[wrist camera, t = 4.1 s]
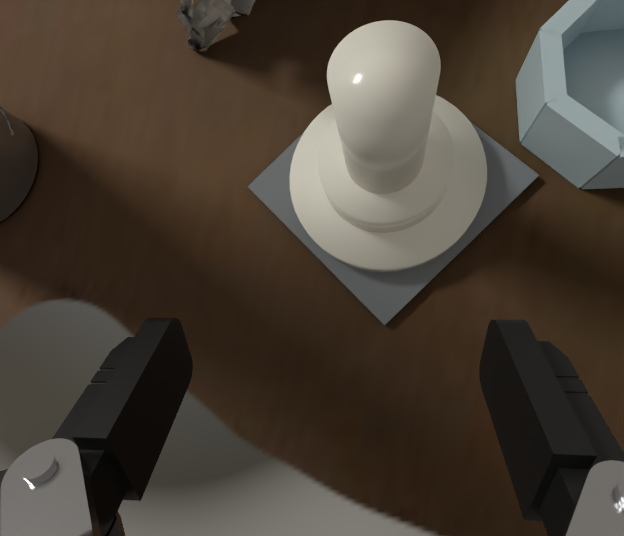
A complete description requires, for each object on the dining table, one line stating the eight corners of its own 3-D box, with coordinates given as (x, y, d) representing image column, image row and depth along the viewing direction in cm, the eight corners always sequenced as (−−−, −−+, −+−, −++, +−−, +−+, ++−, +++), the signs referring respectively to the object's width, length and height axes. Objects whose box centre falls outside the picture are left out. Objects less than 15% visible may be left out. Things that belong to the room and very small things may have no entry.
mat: (384, 325, 23) (384, 325, 23) (249, 188, 27) (247, 186, 26) (536, 178, 23) (538, 175, 23) (384, 58, 27) (384, 54, 26)
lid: (384, 312, 23) (382, 286, 13) (258, 186, 26) (179, 86, 16) (525, 176, 23) (626, 48, 13) (384, 64, 26) (382, -109, 16)
